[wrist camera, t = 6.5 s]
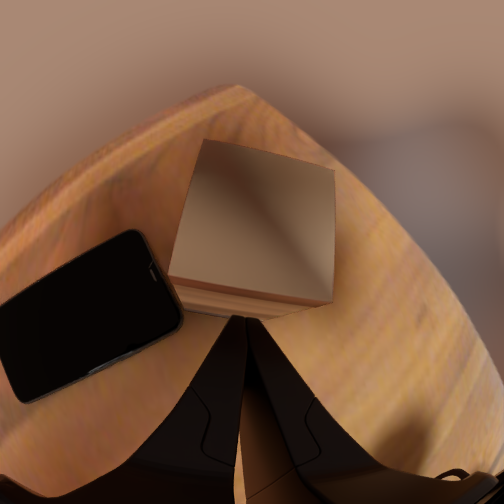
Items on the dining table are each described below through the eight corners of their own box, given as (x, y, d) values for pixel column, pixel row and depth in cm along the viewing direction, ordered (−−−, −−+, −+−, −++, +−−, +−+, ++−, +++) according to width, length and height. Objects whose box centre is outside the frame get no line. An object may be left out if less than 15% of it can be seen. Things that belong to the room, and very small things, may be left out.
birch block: (256, 322, 17) (332, 302, 7) (184, 310, 16) (167, 275, 7) (265, 254, 18) (334, 170, 9) (198, 241, 18) (203, 138, 8)
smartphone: (25, 406, 12) (190, 325, 16) (19, 408, 11) (189, 325, 15) (-9, 315, 13) (140, 226, 17) (-15, 314, 12) (138, 221, 17)
